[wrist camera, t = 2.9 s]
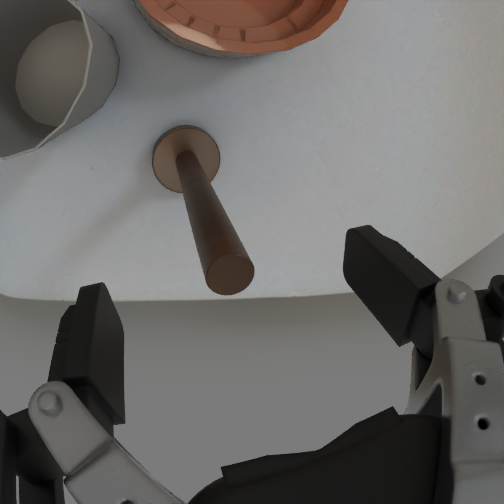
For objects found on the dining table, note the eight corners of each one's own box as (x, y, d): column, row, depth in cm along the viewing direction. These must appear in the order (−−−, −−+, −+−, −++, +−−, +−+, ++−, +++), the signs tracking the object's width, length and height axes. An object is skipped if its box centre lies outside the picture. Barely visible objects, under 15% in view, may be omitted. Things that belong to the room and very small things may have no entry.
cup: (7, 53, 14) (-66, 50, 6) (103, 2, 15) (70, -43, 7) (37, 145, 19) (-24, 188, 11) (132, 99, 20) (114, 110, 12)
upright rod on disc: (143, 176, 23) (135, 319, 10) (166, 116, 21) (182, 179, 8) (202, 194, 25) (264, 340, 12) (227, 138, 23) (328, 229, 10)
